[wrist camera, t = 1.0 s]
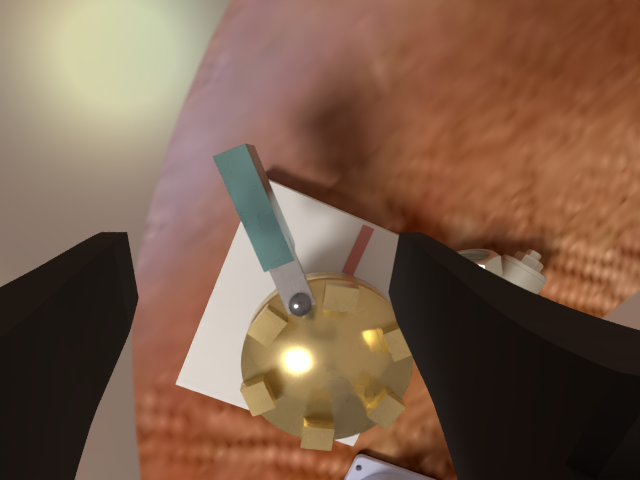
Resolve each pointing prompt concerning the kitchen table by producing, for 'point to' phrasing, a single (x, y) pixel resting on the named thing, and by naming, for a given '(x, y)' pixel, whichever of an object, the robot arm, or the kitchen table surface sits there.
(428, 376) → the robot arm
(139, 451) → the kitchen table surface
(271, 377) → the gold gear
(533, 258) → the pipe fitting
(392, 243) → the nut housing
